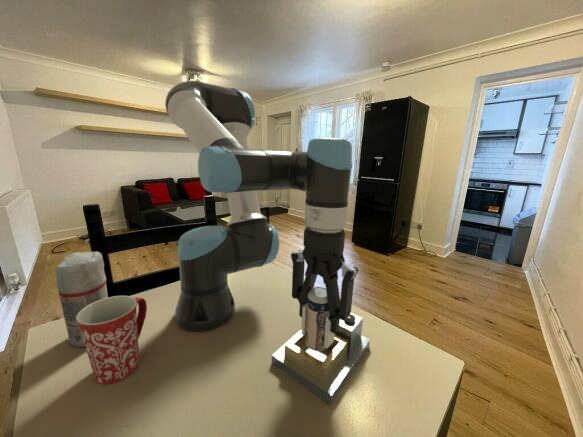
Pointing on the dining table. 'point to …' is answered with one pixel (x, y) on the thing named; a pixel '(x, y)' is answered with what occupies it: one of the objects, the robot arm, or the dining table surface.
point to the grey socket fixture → (324, 359)
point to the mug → (112, 336)
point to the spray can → (79, 288)
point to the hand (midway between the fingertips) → (317, 337)
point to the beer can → (316, 318)
